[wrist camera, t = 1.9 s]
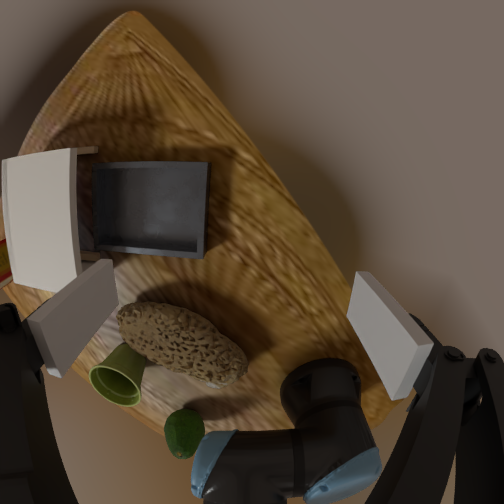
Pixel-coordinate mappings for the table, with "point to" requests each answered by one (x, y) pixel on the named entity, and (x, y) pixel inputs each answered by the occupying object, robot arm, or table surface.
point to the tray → (151, 207)
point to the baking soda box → (5, 265)
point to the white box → (44, 218)
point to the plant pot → (119, 376)
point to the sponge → (182, 342)
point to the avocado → (184, 432)
